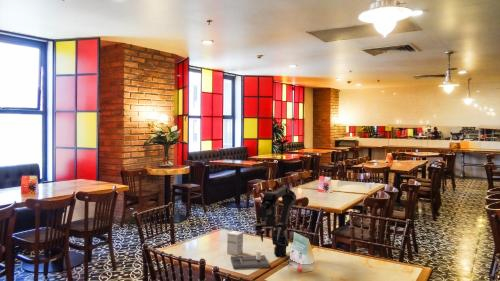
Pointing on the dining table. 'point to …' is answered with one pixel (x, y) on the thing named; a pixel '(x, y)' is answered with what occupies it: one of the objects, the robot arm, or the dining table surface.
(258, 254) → the fader tab
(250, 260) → the console
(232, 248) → the supplement box
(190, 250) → the dining table surface
